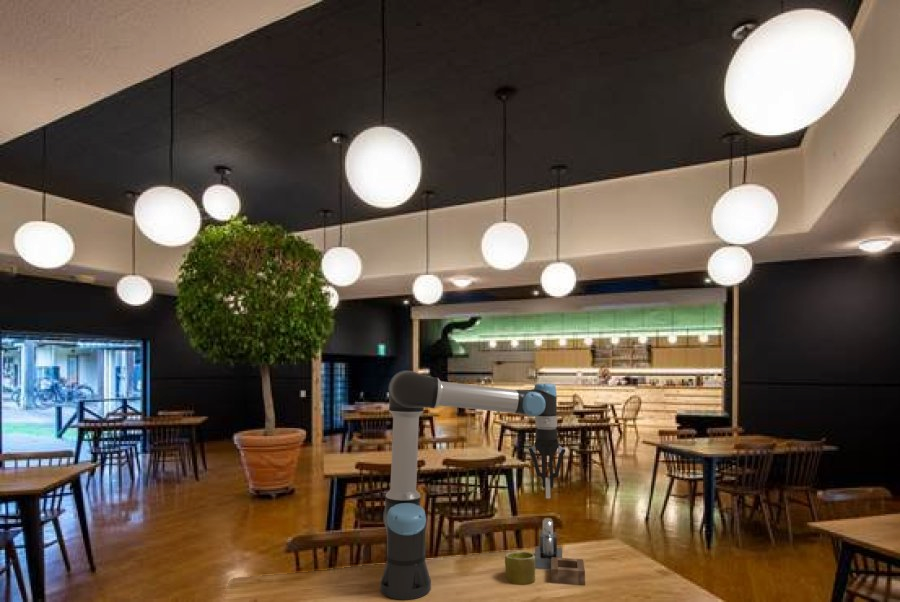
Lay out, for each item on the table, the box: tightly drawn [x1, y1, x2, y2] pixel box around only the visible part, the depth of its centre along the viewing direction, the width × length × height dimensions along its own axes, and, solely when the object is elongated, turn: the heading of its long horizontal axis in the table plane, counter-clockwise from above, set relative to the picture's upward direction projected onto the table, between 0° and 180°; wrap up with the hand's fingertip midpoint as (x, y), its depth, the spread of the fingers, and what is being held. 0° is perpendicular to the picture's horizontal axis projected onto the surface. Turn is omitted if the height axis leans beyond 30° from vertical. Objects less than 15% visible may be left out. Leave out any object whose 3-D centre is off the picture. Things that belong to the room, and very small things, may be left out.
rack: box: [550, 557, 586, 586], centre depth 167 cm, size 10×10×5 cm
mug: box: [504, 550, 536, 586], centre depth 167 cm, size 12×10×10 cm
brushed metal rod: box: [542, 519, 554, 559], centre depth 177 cm, size 3×3×14 cm
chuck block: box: [534, 530, 563, 571], centre depth 180 cm, size 9×12×9 cm
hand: (548, 497), depth 185 cm, fingers closed
